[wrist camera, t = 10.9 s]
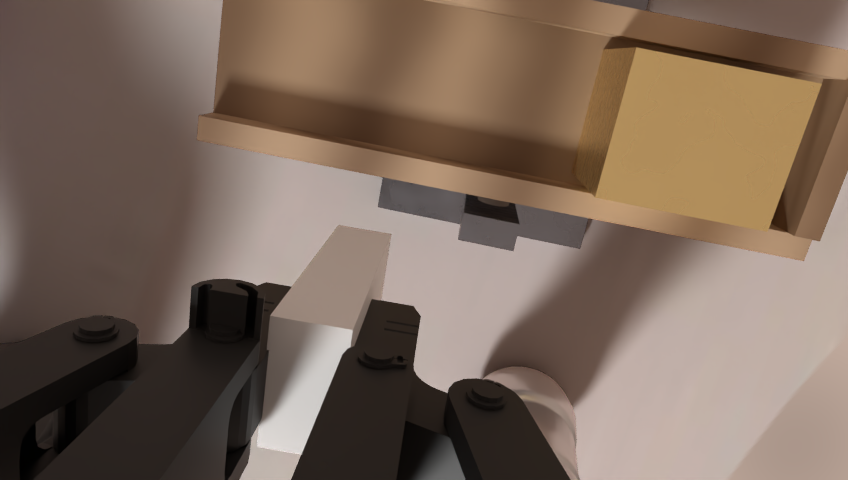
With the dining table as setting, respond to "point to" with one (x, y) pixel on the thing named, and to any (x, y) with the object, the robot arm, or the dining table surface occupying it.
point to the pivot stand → (489, 207)
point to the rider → (691, 136)
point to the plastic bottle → (545, 410)
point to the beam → (496, 100)
